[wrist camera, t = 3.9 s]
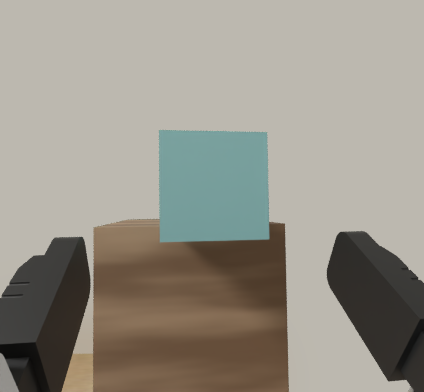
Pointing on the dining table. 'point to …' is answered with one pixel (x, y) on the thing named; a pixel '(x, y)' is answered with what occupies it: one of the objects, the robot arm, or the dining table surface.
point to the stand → (188, 312)
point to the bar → (213, 186)
